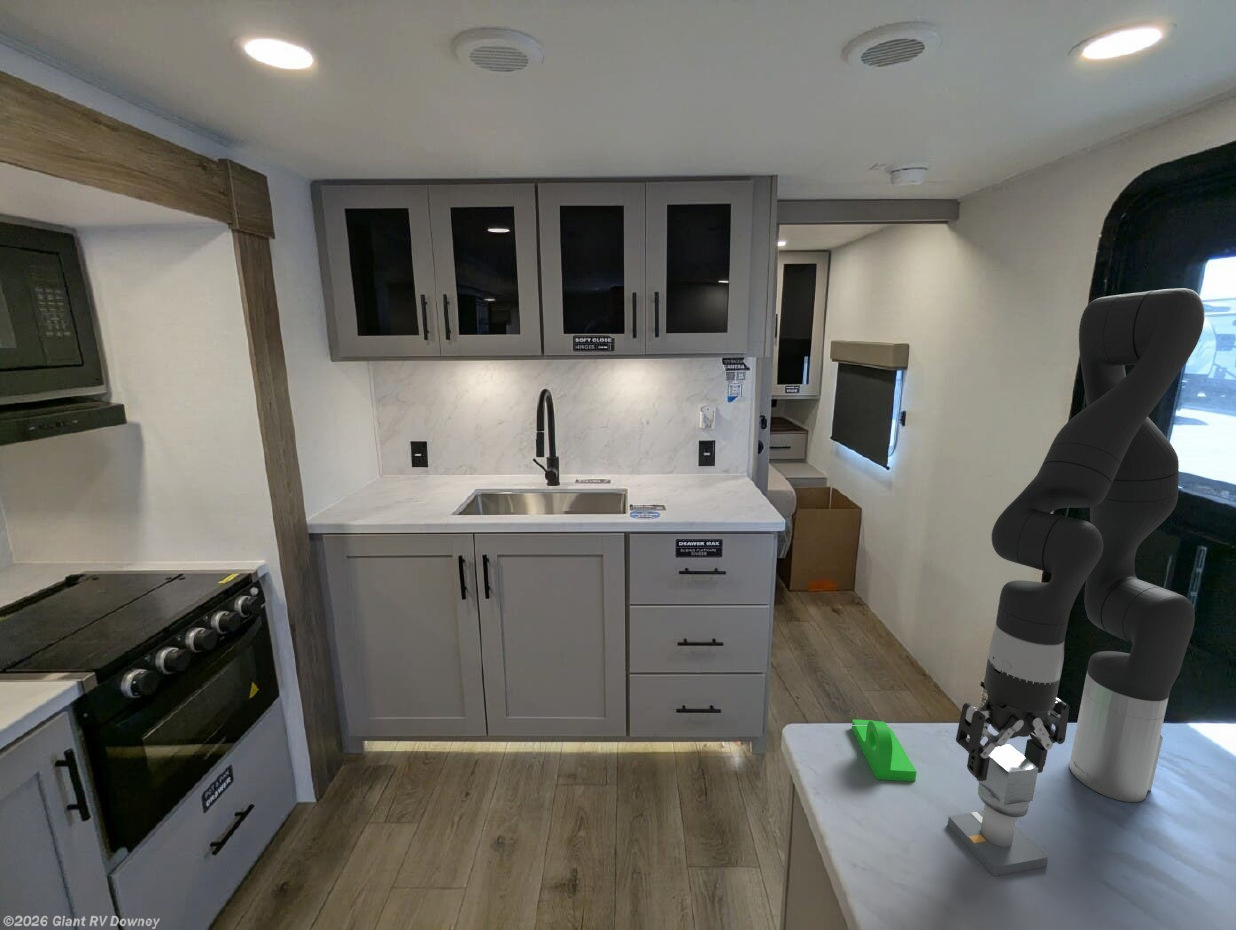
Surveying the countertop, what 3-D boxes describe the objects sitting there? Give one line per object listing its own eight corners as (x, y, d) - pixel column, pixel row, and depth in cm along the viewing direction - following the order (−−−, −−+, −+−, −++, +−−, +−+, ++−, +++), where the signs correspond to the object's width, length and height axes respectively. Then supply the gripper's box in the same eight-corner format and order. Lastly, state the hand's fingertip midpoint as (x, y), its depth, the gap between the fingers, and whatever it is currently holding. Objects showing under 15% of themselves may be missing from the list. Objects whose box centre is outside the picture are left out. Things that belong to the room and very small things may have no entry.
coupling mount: (995, 816, 80) (1002, 775, 78) (1046, 866, 72) (1054, 822, 71) (947, 824, 79) (953, 783, 77) (993, 876, 71) (1001, 831, 69)
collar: (988, 768, 79) (994, 729, 78) (1038, 813, 72) (1046, 770, 70) (954, 774, 78) (960, 733, 77) (1001, 820, 71) (1008, 776, 69)
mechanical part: (915, 782, 87) (920, 738, 85) (876, 779, 87) (880, 736, 86) (885, 730, 98) (890, 691, 97) (851, 728, 99) (855, 689, 97)
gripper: (1044, 643, 75) (1025, 746, 78) (952, 652, 72) (936, 758, 76) (1100, 674, 67) (1077, 787, 71) (999, 685, 65) (980, 801, 68)
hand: (1004, 772), depth 73 cm, fingers open, 8 cm apart
